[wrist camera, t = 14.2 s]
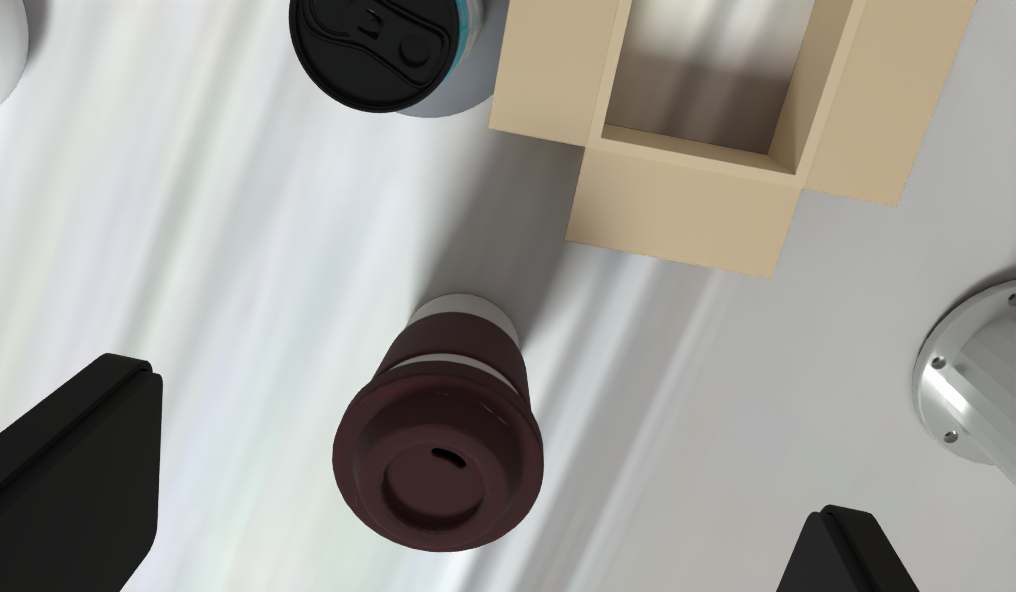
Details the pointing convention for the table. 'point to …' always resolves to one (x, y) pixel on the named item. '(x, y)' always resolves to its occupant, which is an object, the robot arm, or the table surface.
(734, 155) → the carton
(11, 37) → the flower in vase
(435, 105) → the coaster
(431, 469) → the coffee cup
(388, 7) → the beverage can
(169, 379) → the table surface
